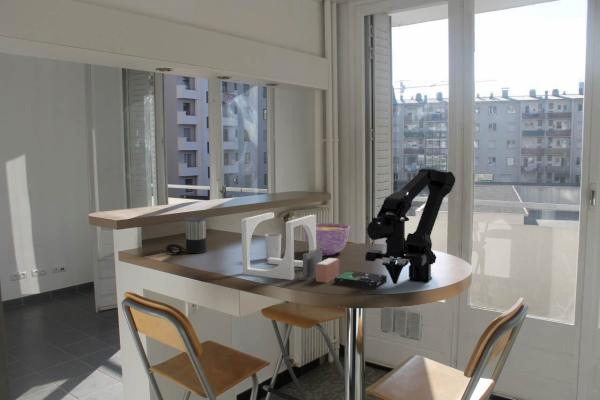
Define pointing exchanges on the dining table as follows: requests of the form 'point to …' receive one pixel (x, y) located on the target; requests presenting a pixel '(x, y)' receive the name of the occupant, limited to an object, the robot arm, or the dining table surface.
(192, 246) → the milk frother
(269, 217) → the white arched frame
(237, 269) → the dining table surface
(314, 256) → the metal plate
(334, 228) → the bowl of food
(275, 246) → the drinking glass
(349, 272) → the disk drive
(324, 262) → the book
